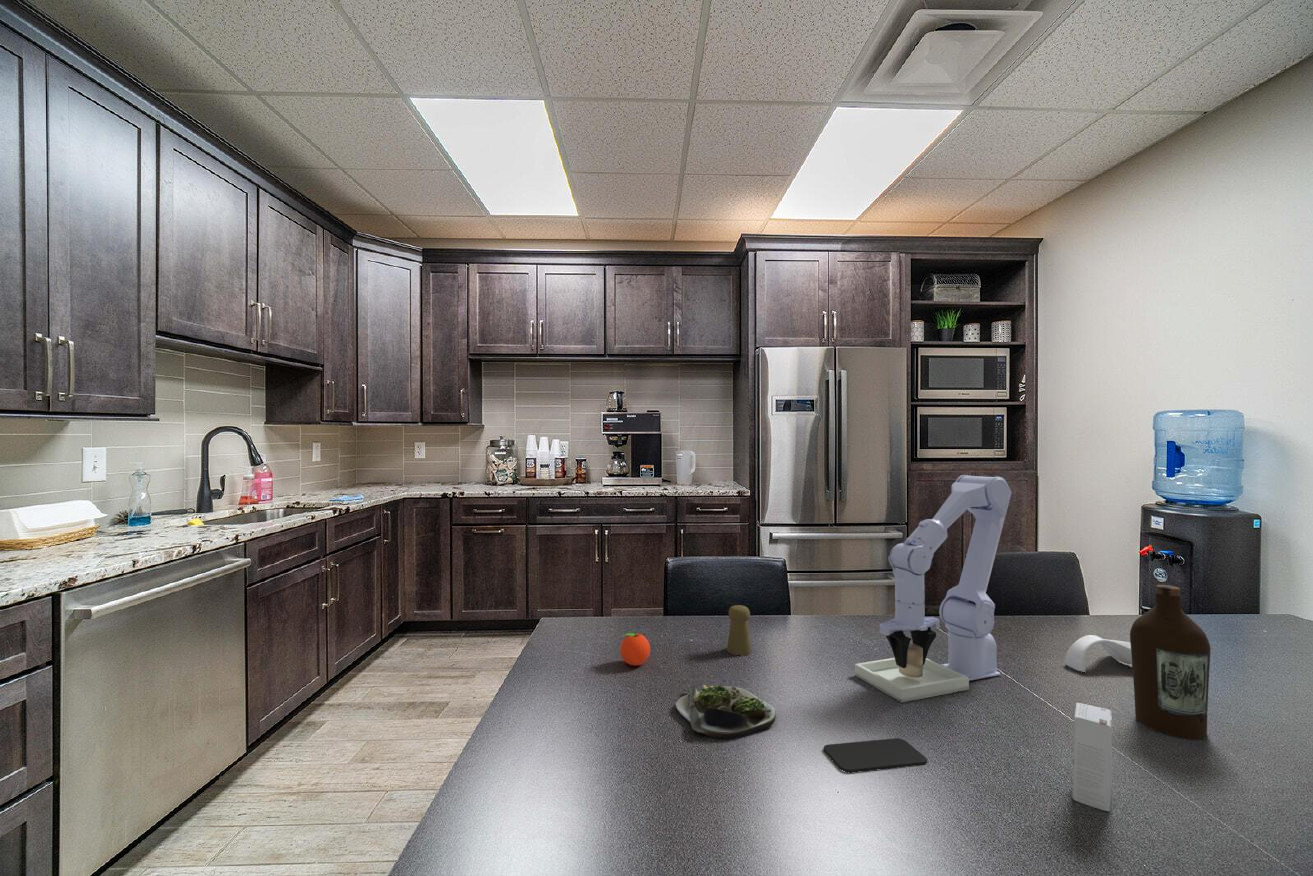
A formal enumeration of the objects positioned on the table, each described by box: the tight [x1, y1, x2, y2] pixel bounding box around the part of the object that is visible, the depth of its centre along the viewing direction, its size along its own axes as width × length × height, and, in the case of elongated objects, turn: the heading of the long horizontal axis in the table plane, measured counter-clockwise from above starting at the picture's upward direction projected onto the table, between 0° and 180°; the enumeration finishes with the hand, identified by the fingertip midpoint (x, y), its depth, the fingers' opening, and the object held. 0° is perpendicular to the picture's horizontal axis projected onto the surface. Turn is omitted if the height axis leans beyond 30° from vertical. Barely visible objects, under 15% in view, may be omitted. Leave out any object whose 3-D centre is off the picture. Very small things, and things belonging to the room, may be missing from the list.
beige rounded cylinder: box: [899, 642, 923, 678], centre depth 117 cm, size 5×5×6 cm
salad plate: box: [675, 684, 777, 740], centre depth 104 cm, size 19×18×5 cm
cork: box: [726, 604, 753, 656], centre depth 134 cm, size 6×6×11 cm
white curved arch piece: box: [1063, 634, 1132, 673], centre depth 126 cm, size 24×12×7 cm, turn 103°
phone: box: [823, 737, 928, 774], centre depth 89 cm, size 7×1×15 cm
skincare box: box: [1071, 702, 1113, 812], centre depth 78 cm, size 6×4×12 cm
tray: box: [854, 657, 970, 703], centre depth 117 cm, size 18×14×2 cm
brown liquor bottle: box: [1129, 584, 1211, 740], centre depth 99 cm, size 11×11×25 cm
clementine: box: [619, 632, 651, 667], centre depth 126 cm, size 8×7×7 cm
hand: (910, 664), depth 117 cm, fingers closed on beige rounded cylinder, 4 cm apart
